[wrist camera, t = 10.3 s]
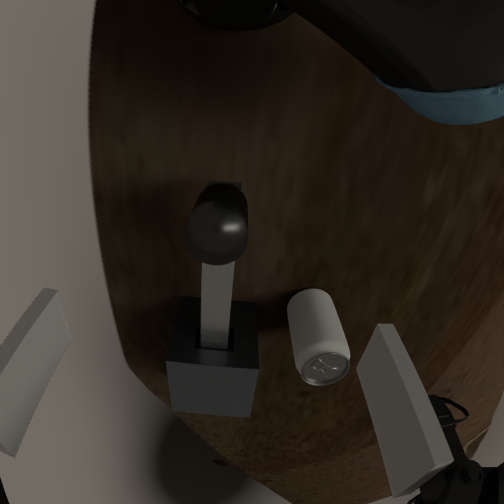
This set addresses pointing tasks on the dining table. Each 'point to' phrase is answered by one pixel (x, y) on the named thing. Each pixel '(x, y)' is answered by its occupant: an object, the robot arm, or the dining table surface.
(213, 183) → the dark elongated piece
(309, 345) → the can
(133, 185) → the dining table surface
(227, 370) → the housing
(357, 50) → the robot arm
